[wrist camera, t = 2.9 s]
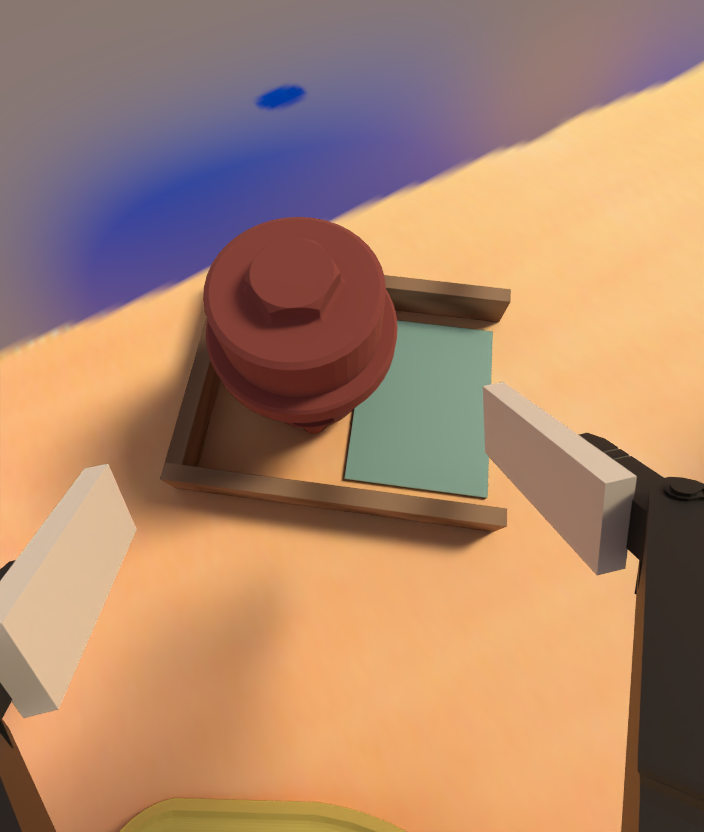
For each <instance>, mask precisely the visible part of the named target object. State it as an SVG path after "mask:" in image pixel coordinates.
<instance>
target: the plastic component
mask: <svg viewBox="0 0 704 832" xmlns="http://www.w3.org/2000/svg"><path fill="white" fill-rule="evenodd" d="M119 832H406V831H404V830H402V829H401V828H399V827H397V826H395V825H394V824H392V823H389V822H387V821H384V820H382V819H379V818H377V817H374V816H372V815H369V814H366V813H364V812H360V811H357V810H353V809H349V808H346V807H342V806H336V805H331V804H326V803H320V802H300V801H265V800H230V799H194V798H172V799H168V800H165V801H161V802H158V803H156V804H154V805H152V806H151V807H149V808H147V809H145V810H143V811H142V812H141V813H139V814H138V815H137V816H135V817H134V818H133V819H131V820H130V821H129V822H128V823H127V824H126V825H125V826H124V827H123V828H122V829H121V830H120V831H119Z"/></svg>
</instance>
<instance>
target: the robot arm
mask: <svg viewBox="0 0 704 832" xmlns="http://www.w3.org/2000/svg"><path fill="white" fill-rule="evenodd" d="M483 406H484V435H485V453H486V454H487V455H488V456H489V457H490V459H491V460H492V461H493V462H494V463H495V464H496V465H497V466H498V467H499V468H500V470H501V471H502V472H503V473H504V474H505V475H506V476H507V477H508V478H509V479H510V481H511V482H512V483H513V484H514V485H515V486H516V487H517V488H518V489H519V490H520V492H521V493H522V494H523V495H524V496H525V497H526V498H527V499H528V500H529V501H530V503H531V504H532V505H533V506H534V507H535V508H536V509H537V510H538V511H539V512H540V513H541V515H542V516H543V517H544V518H545V519H546V520H547V521H548V522H549V523H550V524H551V526H552V527H553V528H554V529H555V530H556V531H557V532H558V533H559V534H560V535H561V537H562V538H563V539H564V540H565V541H566V542H567V543H568V544H569V545H570V546H571V548H572V549H573V550H574V551H575V552H576V553H577V554H578V555H579V556H580V557H581V559H582V560H583V561H584V562H585V563H586V564H587V565H588V566H589V567H590V568H591V569H592V571H593V572H594V573H595V574H596V575H601V574H605V573H609V572H613V571H617V570H621V569H625V566H626V558H627V550H629V551H630V552H631V553H632V554H634V555H635V556H636V557H637V558H638V559H639V567H638V574H637V581H636V588H635V594H636V609H635V625H634V641H633V656H632V672H631V688H630V703H629V719H628V734H627V750H626V766H625V781H624V797H623V813H622V828H621V832H704V484H703V483H700V482H698V481H695V480H691V479H686V478H680V477H667V478H664V477H662V476H661V475H659V474H657V473H656V472H654V471H653V470H651V469H650V468H648V467H647V466H645V465H644V464H642V463H641V462H639V461H638V460H636V459H635V458H633V457H632V456H630V457H629V454H627V453H626V452H624V451H623V450H621V449H618V447H617V446H615V445H614V444H612V443H611V442H609V441H608V440H606V439H604V438H601V437H598V436H595V435H592V434H589V433H584V434H580V435H578V434H576V433H575V432H573V431H572V430H571V429H569V428H568V427H566V426H565V425H564V424H562V423H561V422H559V421H558V420H556V419H555V418H554V417H552V416H551V415H549V414H548V413H547V412H545V411H544V410H542V409H541V408H539V407H538V406H537V405H535V404H534V403H532V402H531V401H530V400H528V399H527V398H525V397H524V396H522V395H521V394H520V393H518V392H517V391H515V390H514V389H513V388H511V387H510V386H508V385H507V384H505V383H504V382H500V383H495V384H490V385H485V386H483ZM136 530H137V529H136V527H135V524H134V522H133V520H132V517H131V515H130V513H129V511H128V508H127V506H126V504H125V501H124V499H123V497H122V494H121V492H120V490H119V488H118V485H117V483H116V481H115V478H114V476H113V474H112V471H111V469H110V467H109V464H104V465H99V466H94V467H89V468H85V469H84V470H83V471H82V473H81V474H80V475H79V477H78V478H77V479H76V481H75V482H74V483H73V485H72V486H71V487H70V489H69V490H68V491H67V493H66V494H65V495H64V497H63V498H62V499H61V501H60V502H59V503H58V505H57V506H56V507H55V509H54V510H53V511H52V513H51V514H50V515H49V517H48V518H47V519H46V521H45V522H44V523H43V525H42V526H41V527H40V529H39V530H38V531H37V533H36V534H35V535H34V537H33V538H32V539H31V541H30V542H29V543H28V545H27V546H26V547H25V549H24V550H23V551H22V553H21V554H20V555H19V557H18V558H17V559H16V560H14V561H10V562H8V563H7V564H6V565H5V566H4V567H2V568H1V569H0V832H56V830H55V828H54V826H53V824H52V822H51V819H50V817H49V815H48V813H47V811H46V808H45V806H44V804H43V802H42V800H41V797H40V795H39V793H38V791H37V789H36V786H35V784H34V782H33V780H32V778H31V775H30V773H29V771H28V769H27V767H26V764H25V762H24V760H23V758H22V756H21V753H20V751H19V749H18V747H17V745H16V742H15V740H14V738H13V736H12V734H11V731H10V729H9V728H8V726H7V725H6V724H5V722H4V721H3V720H2V718H3V716H4V714H5V712H6V710H7V709H8V707H9V705H10V703H11V701H12V703H13V704H14V706H15V707H16V708H17V710H18V711H19V713H20V714H21V715H22V717H23V718H26V717H30V716H34V715H38V714H42V713H46V712H50V711H54V710H58V709H59V707H60V705H61V702H62V700H63V698H64V696H65V693H66V691H67V689H68V686H69V684H70V682H71V679H72V677H73V675H74V673H75V670H76V668H77V666H78V663H79V661H80V659H81V656H82V654H83V652H84V650H85V647H86V645H87V643H88V640H89V638H90V636H91V633H92V631H93V629H94V627H95V624H96V622H97V620H98V617H99V615H100V613H101V610H102V608H103V606H104V604H105V601H106V599H107V597H108V594H109V592H110V590H111V587H112V585H113V583H114V580H115V578H116V576H117V574H118V571H119V569H120V567H121V564H122V562H123V560H124V557H125V555H126V553H127V551H128V548H129V546H130V544H131V541H132V539H133V537H134V534H135V532H136Z"/></svg>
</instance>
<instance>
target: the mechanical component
mask: <svg viewBox="0 0 704 832" xmlns="http://www.w3.org/2000/svg"><path fill="white" fill-rule="evenodd" d="M203 300H204V308H205V313H206V316H207V323H206V346H207V351H208V354H209V358H210V361H211V363H212V365H213V367H214V369H215V371H216V373H217V375H218V376H219V378H220V379H221V381H222V383H223V384H224V386H225V387H226V388H227V389H228V391H229V392H230V393H231V395H233V396H234V397H235V398H236V399H237V400H238V401H239V402H240V403H241V404H243V405H244V406H246V407H247V408H249V409H250V410H252V411H254V412H256V413H258V414H260V415H262V416H265V417H268V418H271V419H274V420H278V421H283V422H285V423H287V424H290V425H292V426H296V427H301V428H304V429H305V430H306V431H307V432H309V433H319V432H320V431H322V430H323V429H324V428H325V426H328V425H331V424H333V423H335V422H337V421H339V420H341V419H343V418H344V417H345V416H346V415H348V414H349V413H350V412H351V411H352V410H353V409H354V408H355V407H357V406H358V405H360V404H361V403H362V402H364V401H365V400H366V399H368V398H369V397H370V396H371V394H372V393H373V392H374V391H375V390H376V389H377V388H378V387H379V385H380V384H381V383H382V381H383V380H384V378H385V376H386V374H387V373H388V371H389V369H390V366H391V363H392V360H393V357H394V352H395V346H396V341H397V329H398V326H397V316H396V312H395V308H394V304H393V302H392V300H391V298H390V295H389V293H388V292H387V290H386V284H385V277H384V273H383V270H382V267H381V265H380V263H379V261H378V259H377V257H376V255H375V254H374V253H373V251H372V250H371V249H370V247H369V246H368V245H367V244H366V243H365V242H364V241H363V240H362V239H361V238H360V237H358V236H357V235H355V234H354V233H352V232H351V231H350V230H348V229H346V228H344V227H342V226H340V225H337V224H334V223H332V222H329V221H325V220H320V219H315V218H305V217H291V218H282V219H276V220H272V221H268V222H265V223H262V224H259V225H257V226H255V227H252V228H250V229H248V230H247V231H245V232H243V233H241V234H240V235H238V236H237V237H236V238H234V239H233V240H232V241H231V242H229V243H228V244H227V245H226V247H224V248H223V250H222V251H221V252H220V253H219V254H218V256H217V257H216V259H215V260H214V262H213V263H212V265H211V267H210V270H209V272H208V274H207V277H206V281H205V285H204V296H203Z"/></svg>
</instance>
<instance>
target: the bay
mask: <svg viewBox="0 0 704 832" xmlns="http://www.w3.org/2000/svg"><path fill="white" fill-rule="evenodd" d="M384 277H385V284H386V290H387V292H388V293H389V295H390V298H391V300H392V302H393V304H394V308H395V310H401V311H410V312H418V313H427V314H435V315H444V316H453V317H461V318H470V319H478V320H487V321H495V322H499V321H500V319H501V318H502V316H503V314H504V312H505V311H506V309H507V307H508V305H509V303H510V294H511V289H502V288H493V287H484V286H475V285H467V284H458V283H449V282H440V281H431V280H423V279H414V278H405V277H396V276H387V275H384ZM206 323H207V318H206V322H205V325H204V328H203V332H202V335H201V339H200V342H199V346H198V349H197V353H196V356H195V360H194V363H193V367H192V370H191V374H190V377H189V381H188V384H187V388H186V391H185V395H184V398H183V402H182V405H181V409H180V412H179V415H178V419H177V422H176V426H175V429H174V433H173V436H172V440H171V443H170V447H169V450H168V454H167V457H166V461H165V464H164V468H163V471H162V475H161V478H160V479H161V480H163V481H164V482H166V483H168V484H170V485H171V486H173V487H175V488H179V489H187V490H194V491H201V492H209V493H216V494H223V495H230V496H238V497H245V498H252V499H260V500H267V501H274V502H281V503H289V504H296V505H303V506H311V507H318V508H325V509H332V510H340V511H347V512H354V513H362V514H369V515H376V516H384V517H391V518H398V519H405V520H413V521H420V522H427V523H435V524H442V525H449V526H456V527H464V528H471V529H478V530H486V531H493V532H494V531H497V530H499V529H502V528H504V527H507V509H506V508H498V507H491V506H483V505H476V504H469V503H461V502H454V501H446V500H439V499H431V498H424V497H417V496H409V495H402V494H394V493H387V492H380V491H372V490H365V489H357V488H350V487H342V486H335V485H328V484H320V483H313V482H305V481H298V480H290V479H283V478H276V477H268V476H261V475H253V474H246V473H239V472H231V471H224V470H216V469H209V468H201V467H197V465H198V462H199V458H200V454H201V450H202V446H203V442H204V439H205V435H206V431H207V427H208V423H209V419H210V416H211V412H212V408H213V404H214V400H215V396H216V393H217V389H218V385H219V381H220V378H219V376H218V375H217V373H216V371H215V369H214V367H213V365H212V363H211V361H210V358H209V354H208V351H207V346H206ZM397 326H398V329H397V341H396V346H395V352H394V357H393V360H392V363H391V366H390V369H389V371H388V373H387V374H386V376H385V378H384V380H383V381H382V383H381V384H380V385H379V387H378V388H377V389H376V390H375V391H374V392H373V393H372V394H371V396H370V397H369V398H368V399H366V400H365V401H364V402H362V403H361V404H360V405H358V406H357V407H355V409H354V416H353V423H352V430H351V437H350V444H349V451H348V458H347V465H346V472H345V479H347V480H355V481H362V482H370V483H377V484H385V485H392V486H399V487H407V488H414V489H422V490H429V491H437V492H444V493H452V494H459V495H467V496H474V497H482V498H487V496H488V464H489V456H488V455H487V454H486V453H485V435H484V406H483V386H485V385H490V384H491V368H492V336H493V332H492V331H484V330H475V329H467V328H458V327H450V326H441V325H433V324H424V323H416V322H407V321H399V320H397Z"/></svg>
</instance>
